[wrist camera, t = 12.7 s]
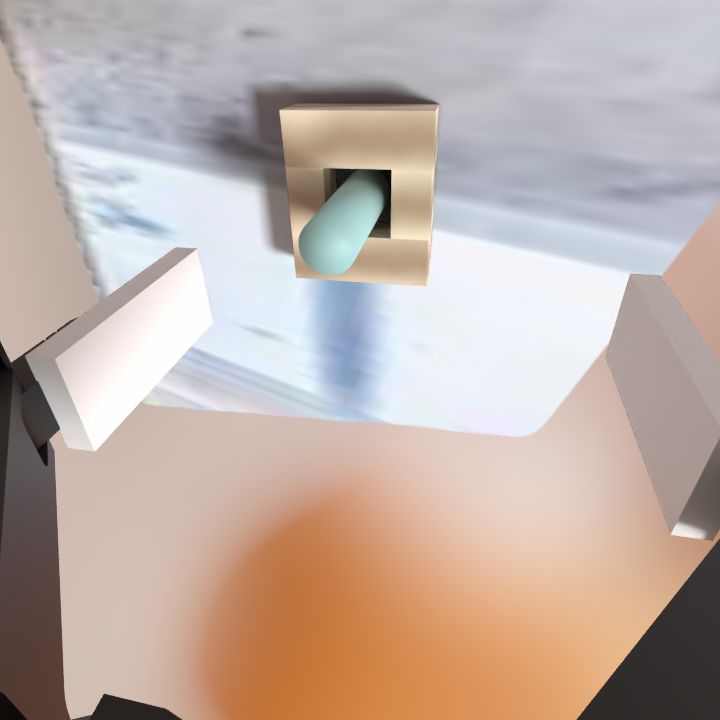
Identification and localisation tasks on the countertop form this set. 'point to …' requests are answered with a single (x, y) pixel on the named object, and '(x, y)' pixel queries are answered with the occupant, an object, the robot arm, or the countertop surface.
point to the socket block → (366, 151)
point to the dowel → (344, 223)
